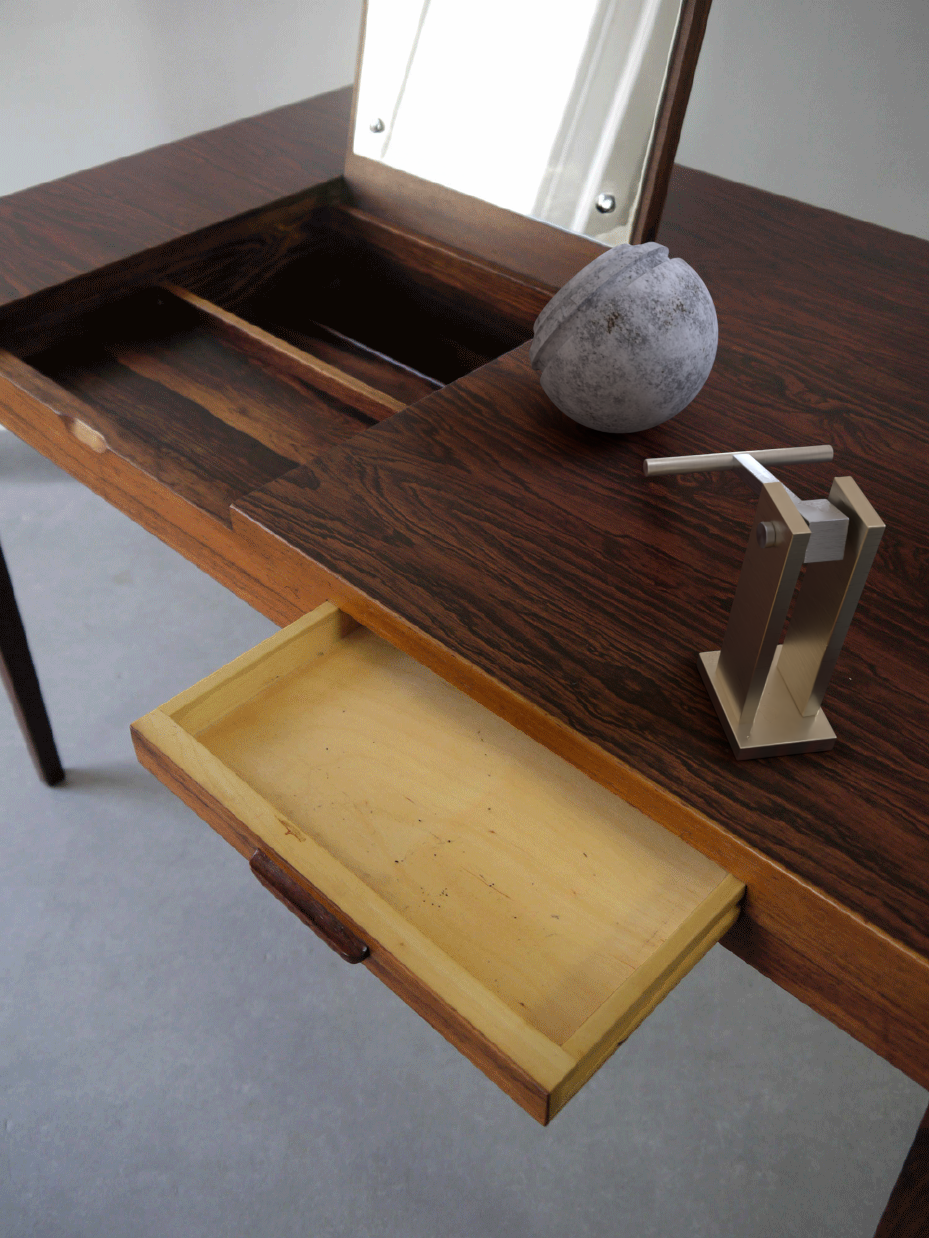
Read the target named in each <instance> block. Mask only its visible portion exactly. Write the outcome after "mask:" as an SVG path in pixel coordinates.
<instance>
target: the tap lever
mask: <svg viewBox="0 0 929 1238" xmlns="http://www.w3.org/2000/svg"><path fill="white" fill-rule="evenodd" d="M833 458H834V448H833V446H832V445H830V444H822V445H809V446H796V447H784V448H773V449H771V448H770V449H759V450H757V449H756V450H745V451H733V452H722V453H719V452H718V453H708V454H707V453H706V454H695V455H682V456H670V457H657V458H655V457H654V458H645V459H644V460H643V464H642V472H643V474H644V476H645V477H646V478H648V477H661V476H662V477H663V476H677V475H686V474H698V473H699V474H700V473H710V472H711V473H712V472H725V471H732V473H734V474H735V475H736V476H737V477H738V478H739V479H740V480H741V481H742V482H743V483H744V484H745V485H746V486H747V487H748V488H749V489H750V490H751V491H752V492H754V494H756V495H757V496H758V498H759V497H760V493H761V489H762V485H763V483H769V482H781V481H780V479H778V478H777V477H776V476H775V475H773V473H771V472H770V471H769V470H768V469H767V468H774V467H787V466H798V465H812V464H823V463H831V462H832V461H833ZM782 485H783V487H784V488H785V490H786V492H787V493H788V495H789V496H790V498H791V500H792V501H793V503H794V505H795V506H796V508H797V510H798V511H799V513H800V514H801V516H802V518H803V519H804V521H805V523H806V524H807V526H808V527H809V529H810V531H811V536H810V539H809V543H808V546H807V549H806V553H805V556H804V559H803V562H802V564H808V563H814V562H825V561H836V560H843V556H844V550H845V543H846V537H847V531H848V525H849V518H848V517H847V516H846V515H844V514H843V513H842V512H841V511H840V510H839V509H837V508H836V507H835V506H834V505H833V504H831V503H830V502H829V501H828V498H820V499H807V500H802V499H801V498H799V497H798V496H797V494H796V493H794V492H793V491H792V490H791V489H790V488H789V487H787V486H786V485H785V484H784V483H782Z"/></svg>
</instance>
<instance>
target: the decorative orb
mask: <svg viewBox="0 0 929 1238" xmlns="http://www.w3.org/2000/svg"><path fill="white" fill-rule="evenodd" d="M669 253H670V250H669V248H668V247H667V246H666V245H665V246H664V245H662V244H660V243H658V242H655V241H648V242H645V243H642V244H635V245H634V244H633V245H632V244H630V243H621V244H619V245H616V246H613V247H612V248H609V250H607V251H605V252H603V253H602V254H600V255H599V256H597V257H596V258H595V259H593V260H592V261H591V262H589V263H588V264H586V266H584V267H583V268H582V269H581V270H579V271H578V272H577V273H576V274H575V275H574V276H572V277H571V278H570V279H569V280H568V281H567V282H566V283H565V284H564V285H563V286H562V287H561V288H560V289H559V290H558V291H557V292H556V293H555V294H554V296H553V297H552V298H551V299H550V300H549V301H548V303H547V304H546V305H545V306H544V307H543V309H542V310H541V311H540V313H539V315H538V316H537V318H536V320H535V322H534V324H533V334H534V335H533V337H532V338H533V339H532V344H531V346H530V347H529V349H528V350H529V351H528V357H529V361H530V366H531V369H532V370H533V371H540V372H541V375H540V379H539V384H540V386H541V388H542V390H543V392H544V393H545V394H546V396H547V397H548V399H549V400H550V402H551V403H553V404H554V405H555V407H556V408H557V409H558V410H559V411H561V412H562V413H563V414H564V415H566V417H568V418H570V419H571V420H573V421H574V422H576V423H578V424H580V425H582V426H584V427H585V428H588V429H592V430H595V431H599V432H602V433H611V434H629V433H631V434H632V433H637V432H642V431H646V430H649V429H653V428H655V427H657V426H659V425H661V424H664V423H665V422H667V421H669V420H670V419H673V418H674V417H675V416H676V415H679V414H680V413H681V412H682V411H684V410H685V408H686V407H688V406H689V404H690V403H691V402H693V400H694V399H695V398H696V397H697V395H698V394H699V393H700V392H701V390H702V389H703V387H704V386H705V383H706V381H707V380H708V378H709V375H710V373H711V371H712V369H713V367H714V366H713V365H714V362H715V360H716V356H717V351H718V344H719V324H718V323H719V322H718V318H717V312H716V311H717V310H716V307H715V304H714V301H713V298H712V296H711V293H710V291H709V290H708V288H707V285H706V284H705V282H704V281H703V279H702V278H701V277H700V275H699V274H698V272H696V271H695V269H694V268H693V267H692V266H691V265H690V264H688V263H687V262H686V261H685V260H684V259H683V258H681V257H673V258H670V257H669Z"/></svg>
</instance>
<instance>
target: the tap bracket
mask: <svg viewBox="0 0 929 1238" xmlns="http://www.w3.org/2000/svg"><path fill="white" fill-rule="evenodd" d="M782 484H783V482H781V481H780V482H769V483H763V485H762V489H761V493H760V497H759V496H758V501H757V505H756V509H755V514H754V518H753V521H752V525H751V529H750V534H749V536H748V541H747V545H746V549H745V553H744V557H743V561H742V565H741V568H740V573H739V575H738V576H739V577H738V580H737V585H736V590H735V593H734V595H733V600H732V603H731V604H732V605H731V609H730V612H729V616H728V621H727V625H726V627H725V632H724V635H723V641H722V644H721V648H720V650H714V651H704V652H698V656H697V660H696V664H695V665H696V666H695V667H696V668H697V671H698V673H699V676H700V678H701V681H702V683H703V685H704V687H705V689H706V692H707V694H708V697H709V699H710V701H711V704H712V706H713V708H714V710H715V713H716V715H717V718H718V720H719V722H720V725H721V727H722V729H723V732H724V734H725V736H726V739H727V741H728V743H729V745H730V748H731V751H732V753H733V755H734V757H735V760H736V761H738V762H739V761H747V760H756V759H757V760H758V759H765V758H772V757H782V756H792V755H799V754H800V755H801V754H809V753H817V752H819V753H820V752H826V751H828V752H829V751H832V750H833V749H834V746H835V743H836V741H837V739H838V738H837V735H836V733H835V731H834V729H833V727H832V726H831V724H830V722H829V719H828V718H827V716H826V714H825V712H824V711H823V709H822V707H821V706H822V703H823V700H824V697H825V696H826V695H825V694H826V692H827V689H828V687H829V684H830V681H831V678H832V675H833V673H834V671H835V668H836V664H837V662H838V659H839V656H840V653H841V650H842V648H843V646H844V642H845V640H846V637H847V634H848V632H849V630H850V626H851V623H852V620H853V618H854V616H855V615H854V614H855V612H856V609H857V607H858V604H859V601H860V598H861V596H862V593H863V589H864V587H865V585H866V582H867V579H868V577H869V573H870V571H871V568H872V566H873V562H874V560H875V557H876V555H877V552H878V549H879V546H880V543H881V540H882V538H883V535H884V532H885V530H886V524H885V522H884V521H883V519H882V517H880V515H879V513H878V512H877V510H875V508H874V507H873V505H872V504H871V502H870V501H869V500H868V498H867V497H866V495H865V494H864V493H863V491H862V489H861V488H860V486H859V485H858V484H857V483H856V481H855V479H854V478H853V477H852V476H851V475H848V476H835V477H834V478H833V481H832V484H831V488H830V491H829V493H828V497H827V500H828V501H829V502H830V503H831V504H833V505H834V506H835V507H836V508H837V509H839V510H840V511H841V512H842V513H843V514H844V515H846V516H847V517H848V518H849V525H848V531H847V537H846V543H845V550H844V556H843V560H836V561H825V562H814V563H807V565H806V568H805V572H804V575H803V578H802V581H801V585H800V588H799V591H798V594H797V598H796V601H795V605H794V607H793V611H792V615H791V617H790V621H789V624H788V626H787V630H786V633H785V636H784V640H783V643H782V644H779V641H780V639H781V635H782V631H783V628H784V625H785V622H786V618H787V616H788V611H789V608H790V605H791V602H792V598H793V595H794V592H795V589H796V585H797V583H798V579H799V576H800V572H801V569H802V565H803V559H804V556H805V553H806V549H807V546H808V543H809V539H810V536H811V531H810V529H809V527H808V526H807V524H806V523H805V521H804V519H803V518H802V516H801V514H800V513H799V511H798V510H797V508H796V506H795V505H794V503H793V501H792V500H791V498H790V496H789V495H788V493H787V492H786V490H785V488H784V487H783V485H782Z"/></svg>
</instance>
